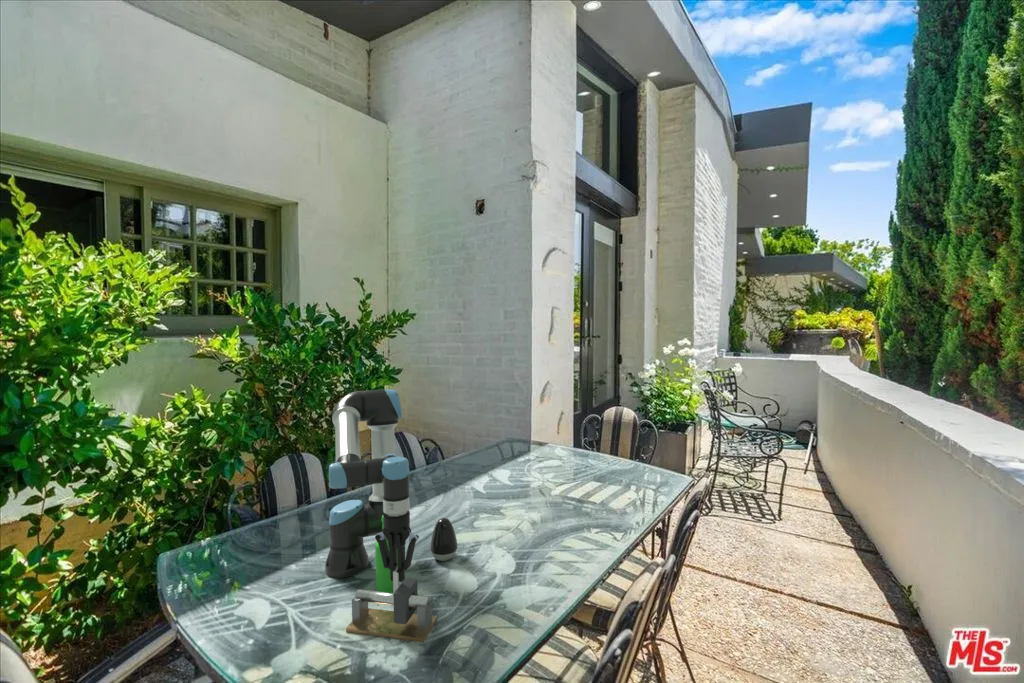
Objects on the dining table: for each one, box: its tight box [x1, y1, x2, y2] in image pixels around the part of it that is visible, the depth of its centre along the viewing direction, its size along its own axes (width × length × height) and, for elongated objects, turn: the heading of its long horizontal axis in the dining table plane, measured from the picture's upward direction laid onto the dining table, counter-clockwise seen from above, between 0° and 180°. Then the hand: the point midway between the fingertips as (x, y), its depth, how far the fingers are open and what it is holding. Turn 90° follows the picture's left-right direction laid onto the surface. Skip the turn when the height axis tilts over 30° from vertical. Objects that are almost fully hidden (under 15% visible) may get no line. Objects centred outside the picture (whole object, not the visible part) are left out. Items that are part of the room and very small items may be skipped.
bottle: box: [374, 516, 404, 593], centre depth 152 cm, size 9×9×25 cm
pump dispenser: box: [429, 517, 458, 562], centre depth 173 cm, size 10×10×15 cm
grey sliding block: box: [393, 577, 419, 624], centre depth 132 cm, size 4×8×8 cm, turn 168°
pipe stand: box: [345, 588, 438, 643], centre depth 133 cm, size 24×10×10 cm, turn 78°
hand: (397, 591), depth 132 cm, fingers closed
